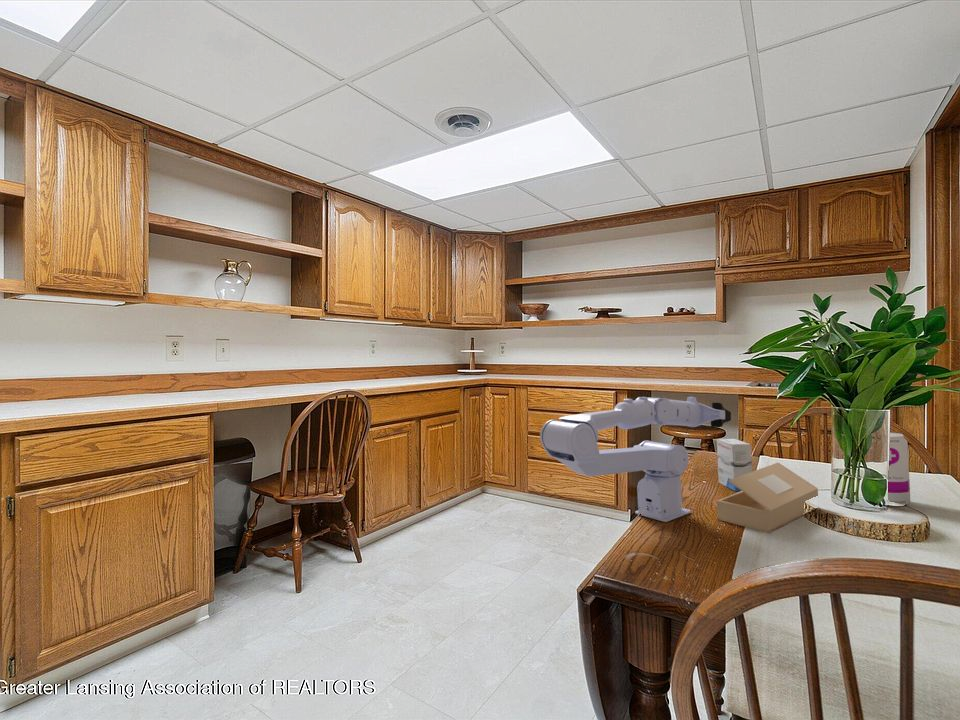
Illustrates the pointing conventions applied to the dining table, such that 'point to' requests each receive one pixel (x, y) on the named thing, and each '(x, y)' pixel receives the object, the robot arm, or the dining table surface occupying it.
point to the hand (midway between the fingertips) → (714, 415)
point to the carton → (759, 512)
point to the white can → (898, 470)
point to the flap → (773, 486)
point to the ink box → (733, 460)
